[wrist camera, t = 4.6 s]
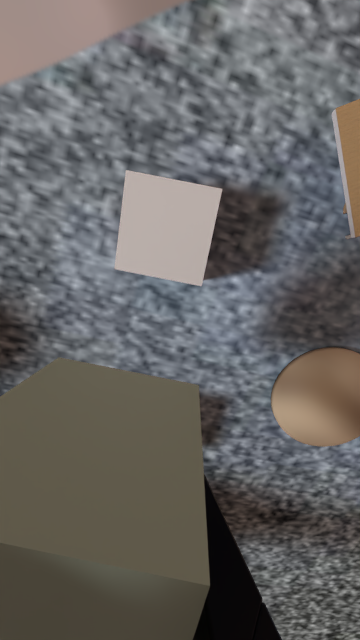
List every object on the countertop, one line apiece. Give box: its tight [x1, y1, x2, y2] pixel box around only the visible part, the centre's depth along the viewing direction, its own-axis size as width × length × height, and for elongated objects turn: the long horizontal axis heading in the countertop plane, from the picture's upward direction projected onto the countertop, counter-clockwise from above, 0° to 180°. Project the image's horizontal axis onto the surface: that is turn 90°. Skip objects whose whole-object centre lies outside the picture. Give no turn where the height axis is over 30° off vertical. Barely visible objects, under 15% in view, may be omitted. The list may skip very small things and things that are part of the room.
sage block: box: [0, 358, 210, 640], centre depth 6 cm, size 5×5×5 cm
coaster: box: [271, 347, 360, 446], centre depth 19 cm, size 9×9×1 cm
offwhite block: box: [115, 170, 222, 286], centre depth 14 cm, size 5×5×5 cm
